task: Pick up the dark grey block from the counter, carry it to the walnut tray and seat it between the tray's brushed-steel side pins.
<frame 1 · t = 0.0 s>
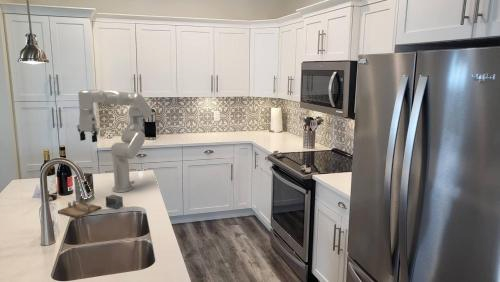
hand: (88, 141, 215), 37 cm above the countertop, tool pointing down, fingers open, 9 cm apart
pin tray: (79, 210, 206), on the countertop
coffee box: (85, 200, 222), on the countertop
dark grey block: (114, 206, 213), on the countertop
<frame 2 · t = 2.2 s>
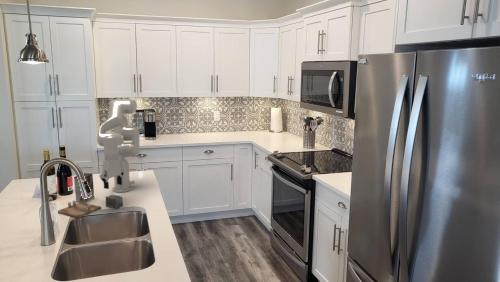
hand: (113, 186, 210), 12 cm above the countertop, tool pointing down, fingers open, 9 cm apart
nothing on the countertop moved.
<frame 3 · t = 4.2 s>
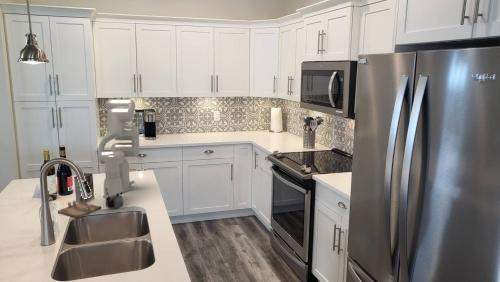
hand: (114, 205, 212), 1 cm above the countertop, tool pointing down, fingers closed on dark grey block, 5 cm apart
dark grey block: (114, 206, 213), on the countertop, touching gripper
everything else where it was.
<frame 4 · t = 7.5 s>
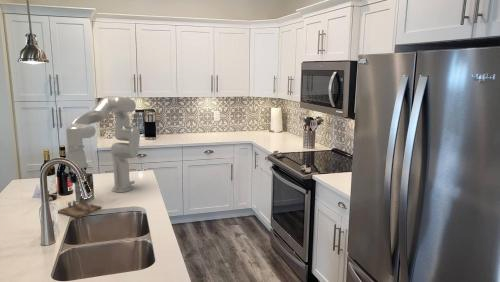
hand: (77, 180, 202), 17 cm above the countertop, tool pointing down, fingers closed on dark grey block, 5 cm apart
dark grey block: (78, 182, 202), point 17 cm above the countertop, touching gripper
everything else where it was.
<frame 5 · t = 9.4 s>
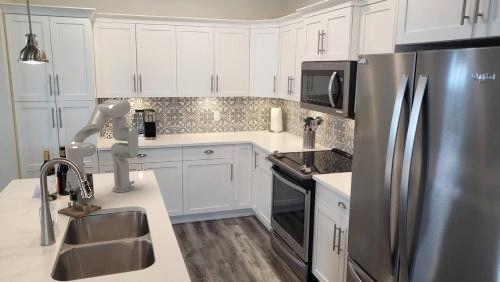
hand: (78, 198, 204), 7 cm above the countertop, tool pointing down, fingers closed on dark grey block, 5 cm apart
dark grey block: (78, 200, 204), point 6 cm above the countertop, touching gripper
everything else where it was.
when the fingers open (3 cm above the countertop, at t = 11.0 s): dark grey block drops 1 cm, resting on pin tray.
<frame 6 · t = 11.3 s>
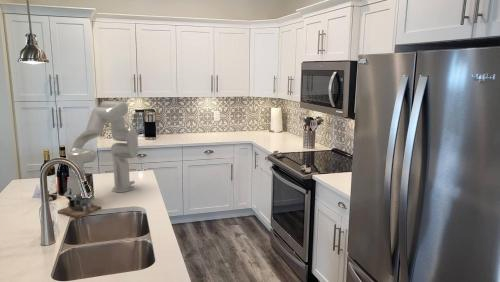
hand: (79, 203, 205), 4 cm above the countertop, tool pointing down, fingers open, 8 cm apart
dark grey block: (79, 208, 205), point 1 cm above the countertop, touching pin tray
everything else where it was.
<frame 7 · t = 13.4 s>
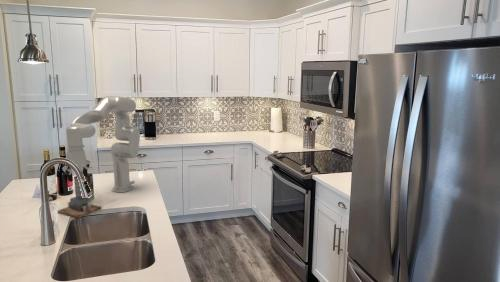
hand: (78, 178, 203), 18 cm above the countertop, tool pointing down, fingers open, 9 cm apart
nothing on the countertop moved.
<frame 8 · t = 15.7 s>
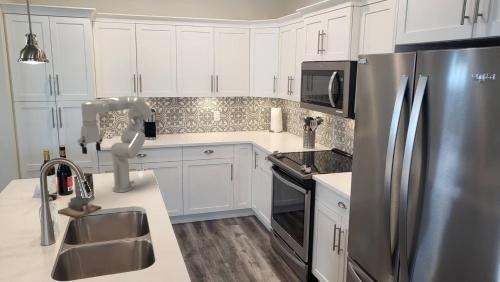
hand: (91, 152, 215), 30 cm above the countertop, tool pointing down, fingers open, 9 cm apart
nothing on the countertop moved.
at the end: dark grey block 0.1 cm off-centre on the pin tray, point 1.2 cm above the pin tray's base; dark grey block tilted 0°; the gripper is holding nothing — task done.
